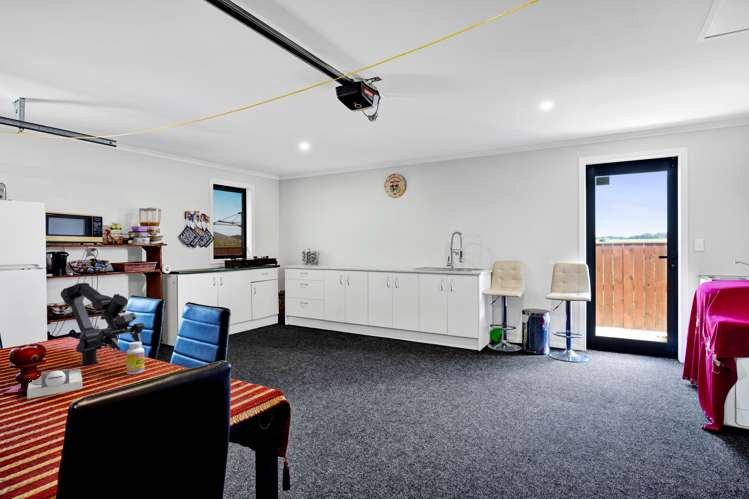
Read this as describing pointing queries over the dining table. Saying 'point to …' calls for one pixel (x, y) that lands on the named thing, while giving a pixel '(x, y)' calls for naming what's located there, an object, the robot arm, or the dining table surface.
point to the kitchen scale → (55, 383)
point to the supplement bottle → (135, 358)
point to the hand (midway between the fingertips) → (130, 346)
